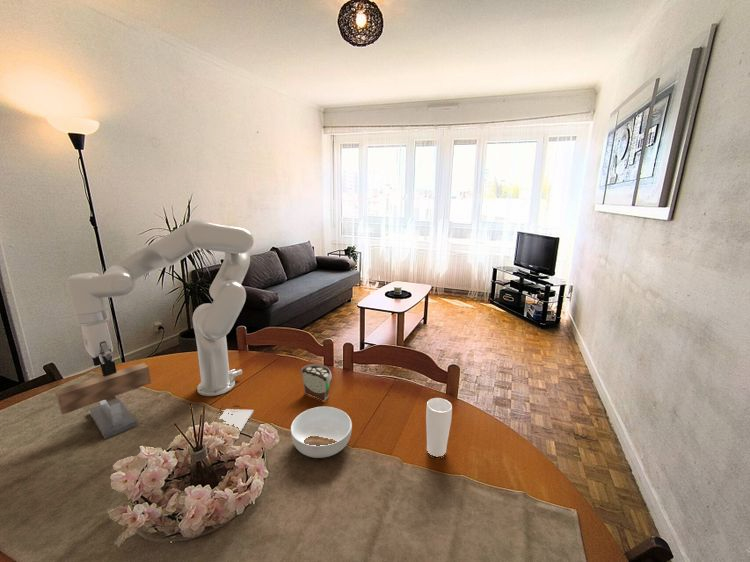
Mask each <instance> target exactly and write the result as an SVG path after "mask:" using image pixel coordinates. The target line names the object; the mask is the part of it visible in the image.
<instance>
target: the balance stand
mask: <svg viewBox="0 0 750 562" xmlns="http://www.w3.org/2000/svg"><path fill="white" fill-rule="evenodd" d="M99 404H100V405H98V406H95V407H93V408H92V407H91V408H89V409H88V412H89V413H90V414H89V413H88V414H89V415H90V417H91V419H92V418H93V419H92V420H93V422H94V421H95V422H94V424H95V425H96V427H97V428H98V430H99V432H100V433H101V435H102V436H103V438H104V439H105V440H107V439H109V438H111V437H114V436H115V434H116V435H119V434H121V433H123V432H125V430H126V431H128V430H130V429H133V428H134V426H135V427H137V426H138V422H137V420H136V419H135V417H134V416H133V415H132V413H131V412H130V411H129V410H128V408H127V407H126V406H125V405H124V403H123V402H122V401H121V400H120V398H117V397H116V396H114V397H111V398H108V399H105V400H102V401H100V402H99ZM132 427H133V428H132ZM127 429H128V430H127ZM120 432H121V433H120ZM118 433H119V434H118ZM113 435H114V436H113ZM106 438H107V439H106Z"/></svg>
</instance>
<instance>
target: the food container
mask: <svg viewBox="0 0 750 562" xmlns="http://www.w3.org/2000/svg"><path fill="white" fill-rule="evenodd" d="M300 373H301V374H302V382H303V391H304V394H305V393H307V394H310V395H312V396H315V397H317V398H319V399H321V400H324V401H326V400H327V398H328V399H329V393H330V382H331V380H332V378H333V376H332V372H331V369H330V368H329V367H328V366H326V365H323V364H308V365H305V366H303V367H301V369H300ZM327 401H328V400H327ZM327 401H326V402H327Z"/></svg>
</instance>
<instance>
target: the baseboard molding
mask: <svg viewBox="0 0 750 562" xmlns="http://www.w3.org/2000/svg"><path fill="white" fill-rule="evenodd" d="M222 408H224V406H221V411H224V412H223V414H222V415H221V416H220V418H219V419H223V420H224V421H226V422H223V423H226V424H229V425H233V424H234V426H235V427H238V428H239V430H240V431H242V432H243V430H244V429H245V427H246V425H247V424H248V422H249V420H250V419H251V417H252V416H253V414H254V412H255V411H254V409H246V407H245V406H244V407H241V406H240V405H233V407H232V409H231V408H226V409H224V410H223V409H222ZM234 408H240V409H234ZM241 408H243V409H241ZM244 408H245V409H244ZM228 413H229V414H228ZM231 414H233V415H231ZM249 418H250V419H249ZM248 419H249V420H248ZM247 421H248V422H247ZM213 422H214V420H213V421H212V423H213ZM246 423H247V424H246ZM245 424H246V425H245ZM244 426H245V427H244ZM242 429H243V430H242Z"/></svg>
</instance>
